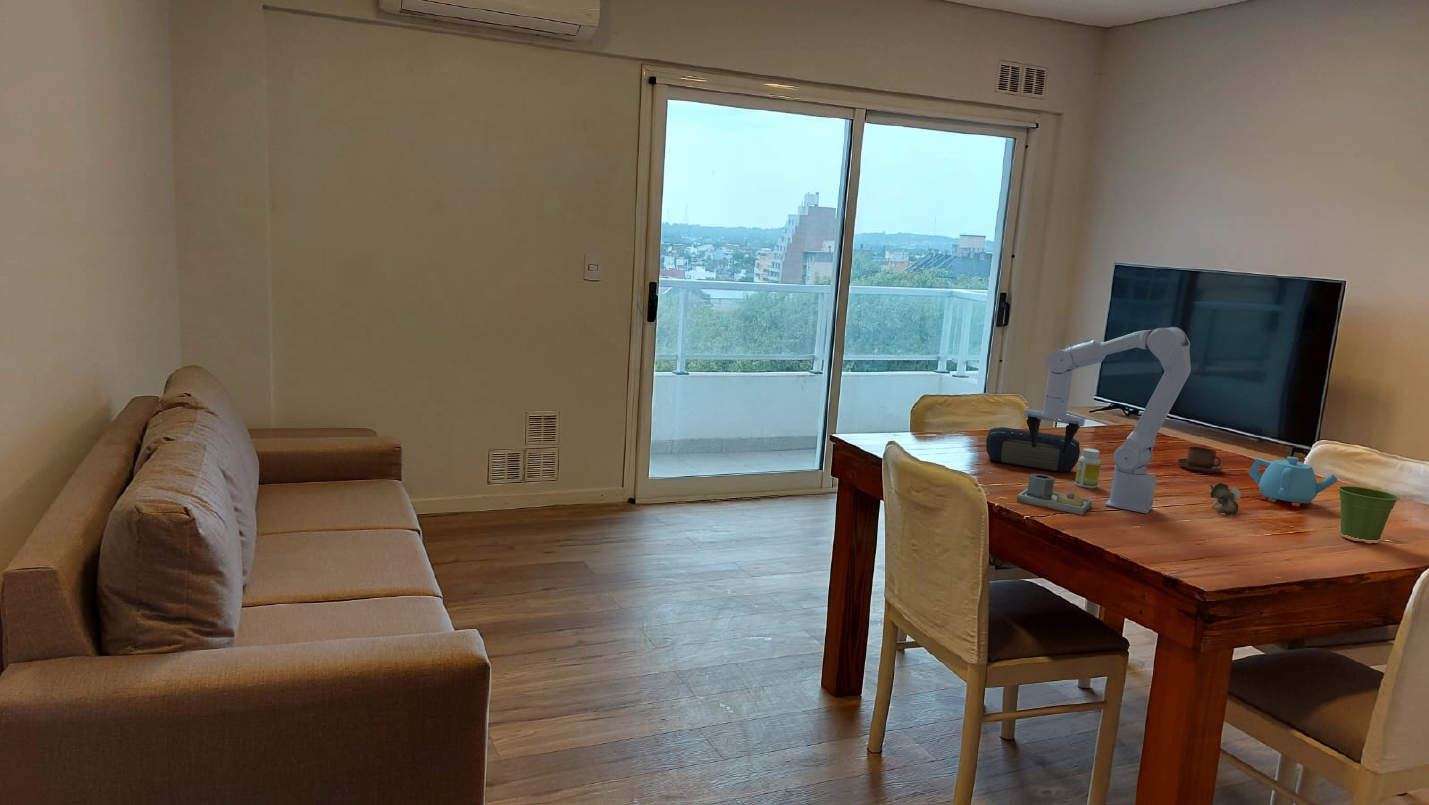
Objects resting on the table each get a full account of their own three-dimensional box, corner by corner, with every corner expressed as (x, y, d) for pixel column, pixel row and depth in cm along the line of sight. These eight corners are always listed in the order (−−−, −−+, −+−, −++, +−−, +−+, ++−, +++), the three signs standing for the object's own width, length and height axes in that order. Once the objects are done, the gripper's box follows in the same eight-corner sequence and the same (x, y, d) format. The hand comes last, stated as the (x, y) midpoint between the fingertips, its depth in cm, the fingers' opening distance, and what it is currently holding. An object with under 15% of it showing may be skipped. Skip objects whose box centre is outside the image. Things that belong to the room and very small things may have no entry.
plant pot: (1395, 542, 222) (1405, 494, 220) (1383, 551, 213) (1393, 502, 211) (1336, 528, 230) (1345, 482, 228) (1322, 536, 222) (1331, 489, 220)
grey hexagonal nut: (1053, 496, 235) (1056, 476, 234) (1049, 501, 230) (1052, 481, 229) (1029, 492, 238) (1032, 472, 237) (1025, 497, 233) (1028, 477, 232)
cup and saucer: (1226, 471, 285) (1230, 451, 284) (1215, 477, 276) (1218, 456, 275) (1183, 463, 293) (1187, 443, 292) (1171, 468, 284) (1174, 447, 283)
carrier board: (1091, 506, 233) (1093, 493, 232) (1082, 514, 224) (1084, 501, 224) (1027, 493, 241) (1029, 480, 240) (1016, 501, 232) (1018, 488, 232)
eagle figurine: (1197, 497, 246) (1200, 498, 237) (1219, 474, 244) (1224, 475, 235) (1224, 519, 243) (1229, 521, 234) (1247, 497, 241) (1253, 498, 232)
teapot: (1239, 498, 252) (1246, 454, 250) (1250, 488, 265) (1258, 446, 263) (1328, 517, 240) (1337, 470, 238) (1336, 505, 253) (1345, 461, 251)
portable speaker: (981, 463, 272) (985, 428, 270) (985, 456, 281) (990, 422, 279) (1076, 477, 262) (1081, 441, 261) (1077, 470, 272) (1082, 435, 270)
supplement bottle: (1070, 484, 254) (1076, 448, 252) (1081, 482, 257) (1087, 446, 255) (1090, 489, 250) (1095, 453, 248) (1100, 487, 253) (1106, 451, 251)
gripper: (1090, 399, 244) (1082, 452, 246) (1031, 390, 251) (1024, 442, 254) (1084, 402, 238) (1076, 456, 240) (1024, 393, 245) (1017, 446, 248)
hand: (1049, 449), depth 246 cm, fingers open, 7 cm apart
